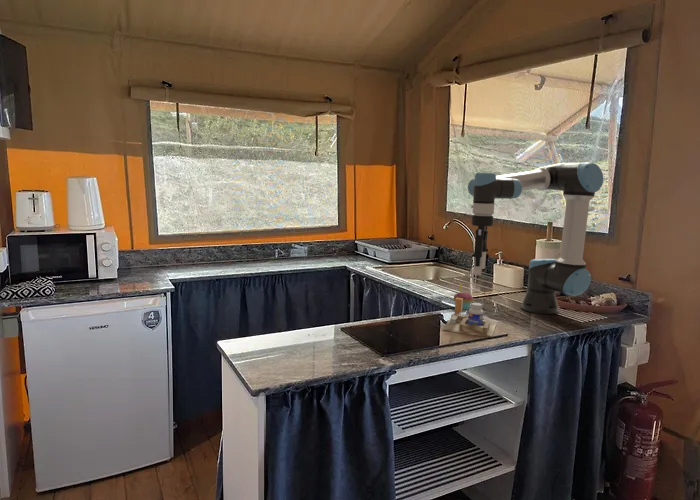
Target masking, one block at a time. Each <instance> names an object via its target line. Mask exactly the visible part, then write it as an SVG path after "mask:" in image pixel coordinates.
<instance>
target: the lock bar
mask: <svg viewBox="0 0 700 500" xmlns="http://www.w3.org/2000/svg"><path fill="white" fill-rule="evenodd" d="M454 303H455V304H454V312H453V313H452V314H453V316H452V317H451V316H450V318H451V319H450V318H449V319H450V323H455V324H456V322H457V320H458V319H459V317H460V315H462V311H463V309H462V304H463V298H456V299H455V301H454Z"/></svg>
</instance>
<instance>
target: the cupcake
mask: <svg viewBox="0 0 700 500" xmlns="http://www.w3.org/2000/svg"><path fill="white" fill-rule="evenodd" d="M462 289H463V288H462V283H461V282H459V292H457V293H455V294H454V295H453V301H454V302H455V299H456V298H463V304H462V311H463V310H469V307H470V306H471V303H474V297H473V296H472V294H470V293H469V292H466V291H465V292H463V290H462Z"/></svg>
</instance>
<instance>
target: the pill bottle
mask: <svg viewBox="0 0 700 500" xmlns="http://www.w3.org/2000/svg"><path fill="white" fill-rule="evenodd" d="M470 307H471V308H468V314H467V316H468V324H469V325H477V326H482V323H483V318H484V310H483V309H482V308H483V304H482V303H480V302H471V303H470Z"/></svg>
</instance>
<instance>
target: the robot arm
mask: <svg viewBox="0 0 700 500" xmlns="http://www.w3.org/2000/svg"><path fill="white" fill-rule="evenodd" d="M603 184H604V174H603V171H602V169H601V168H600V166H599V165H598V164H597V163H594V162H586V161H585V162H584V161H583V162H559V163H556V164H551V165H550V164H549V165H546V166H540V167H537V168H536V169H535V170H530V171H529V170H527V171H524V172H523V171H522V172H516V173H508V174H501V175H500V174H499V175H497V174H496V173H495V172H476V173H475V174H474V178H471V180H470V181H469V182H468V185H467V190H468V191H467V192H468V193H469V195H470V196H472V197H473V198H472V205H471V206H470V207H471V208H472V214H473V215H472V216H471V225H472V226H476V227H477V228H476V230H475V237H474V238H475V242H474V250H473V254H471V256H472V258H473V270H472V271H473V274H472V275H473V276H482V270H485V269H486V257H487V253H488V252H489V249H488V245H487V243H488V232H489V231H488V227H492V226H493V225H494V216H493V215H494V213H495V199H496V200H497V199H500V200H501V199H502V200H506V199H507V200H508V199H509V200H513V199H517V198H518V197H520V196H521V195H522V192H525V191H529V190H535V189H536V190H537V189H538V190H539V191H544V190H551V191H553V190H554V191H561V192H562V191H563V194H562V196H563V197H564V198H565V199H566V200H565V201H566V202H565V211H564V220H563V228H562V237H561V245H560V254H559V257H558V258H534V259H530V260H529V264H528V265H529V267H528V274H527V289H526V293H525V295H524V297H523V300H522V302H521V309H522V310H523V311H527V312H529V313H533V314H542V315H554V314H557V313H558V312H559V304H558V300H557V296H556V292H559V293H562V294H565V295H567V296H568V295H569V296H575V297H576V296H581V295H582V294H583V293H585V292H586V291H587V290H588V289H589V287H590V285H591V281H592V276H591V274H590V273H591V272H590V271H589V270H588V269H586V268H587V263H586V262H585V260H584V259H583V258H584V251H585V241H586V233H587V225H588V218H589V217H588V216H589V207H590V202H591V201H592V200H593V199H594V198H595V195H596V192H599V191H600V190H601V188H602V187H603Z"/></svg>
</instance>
